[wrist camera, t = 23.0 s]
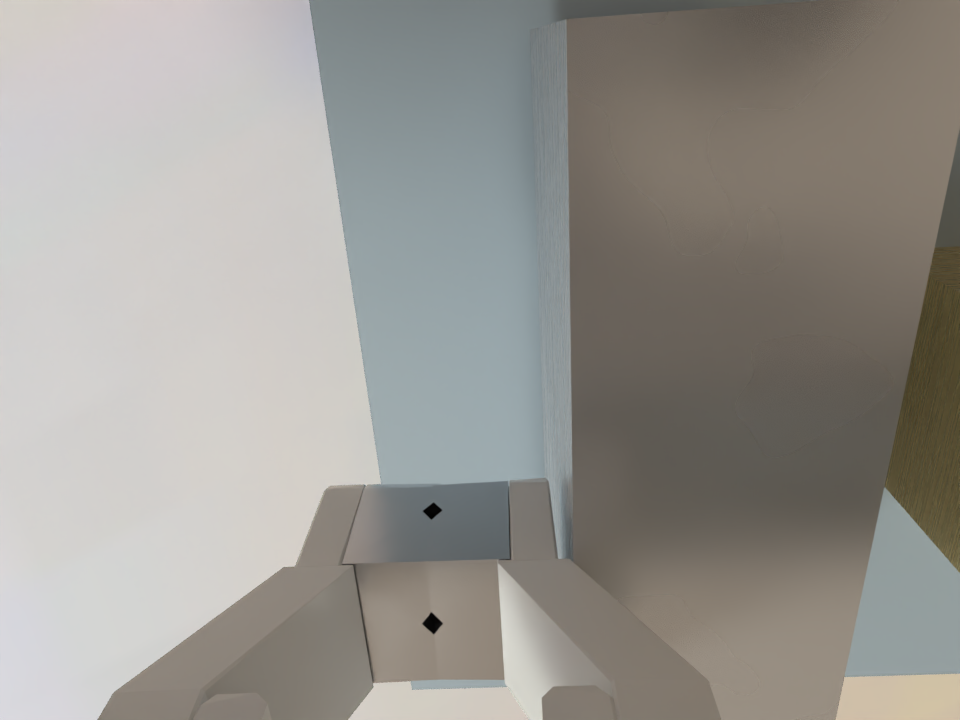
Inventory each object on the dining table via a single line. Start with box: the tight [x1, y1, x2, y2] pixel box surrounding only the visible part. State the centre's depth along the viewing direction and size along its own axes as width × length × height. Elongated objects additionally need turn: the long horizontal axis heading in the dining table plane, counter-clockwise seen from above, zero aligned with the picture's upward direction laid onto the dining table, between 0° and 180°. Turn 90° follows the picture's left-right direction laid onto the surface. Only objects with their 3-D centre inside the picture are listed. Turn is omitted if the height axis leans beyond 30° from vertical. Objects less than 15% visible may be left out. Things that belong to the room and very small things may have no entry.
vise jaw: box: [530, 0, 960, 720], centre depth 10 cm, size 12×3×6 cm, turn 4°
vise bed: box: [309, 0, 960, 690], centre depth 11 cm, size 17×19×7 cm
